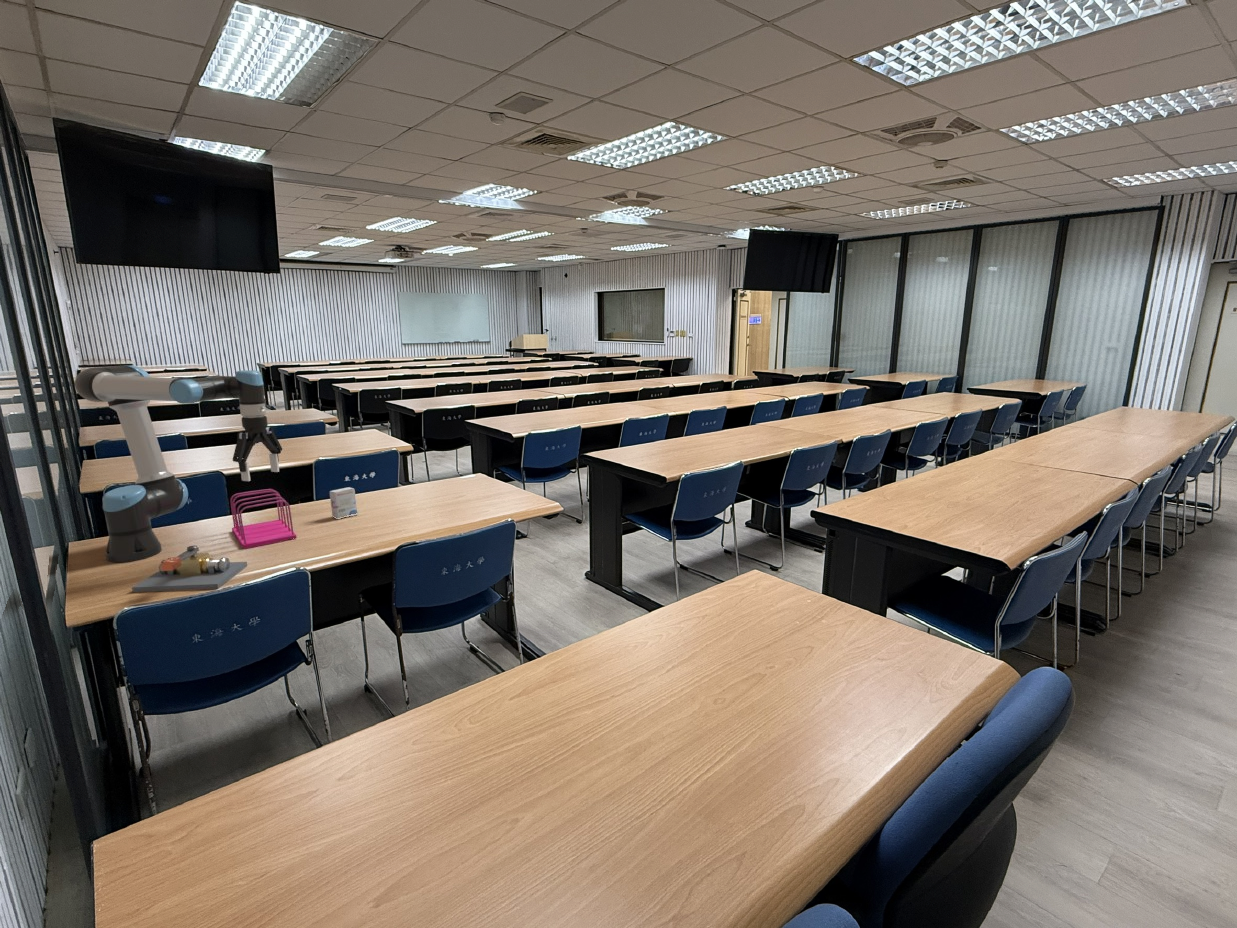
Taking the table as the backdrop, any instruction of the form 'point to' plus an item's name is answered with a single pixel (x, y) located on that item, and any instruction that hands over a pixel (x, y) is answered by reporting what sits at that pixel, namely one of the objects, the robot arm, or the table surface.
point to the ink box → (343, 502)
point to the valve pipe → (199, 565)
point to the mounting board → (188, 580)
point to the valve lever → (179, 559)
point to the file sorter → (265, 530)
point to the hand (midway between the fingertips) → (261, 476)
